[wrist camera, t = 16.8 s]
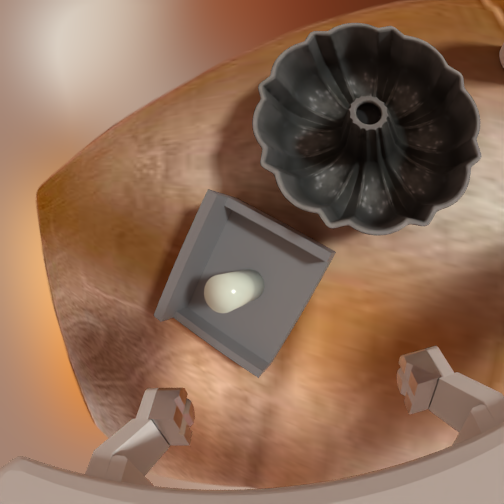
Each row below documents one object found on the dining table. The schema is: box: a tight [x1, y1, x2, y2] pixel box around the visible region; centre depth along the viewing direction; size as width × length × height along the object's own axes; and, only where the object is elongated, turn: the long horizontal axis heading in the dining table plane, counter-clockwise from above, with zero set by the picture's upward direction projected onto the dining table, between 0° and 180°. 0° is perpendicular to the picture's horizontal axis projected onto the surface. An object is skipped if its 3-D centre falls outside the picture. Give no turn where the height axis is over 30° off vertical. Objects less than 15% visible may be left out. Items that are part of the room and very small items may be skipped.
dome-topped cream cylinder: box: [204, 269, 264, 313], centre depth 39 cm, size 4×4×8 cm
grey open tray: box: [154, 189, 336, 378], centre depth 41 cm, size 16×19×8 cm
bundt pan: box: [252, 23, 481, 235], centre depth 34 cm, size 26×26×10 cm
